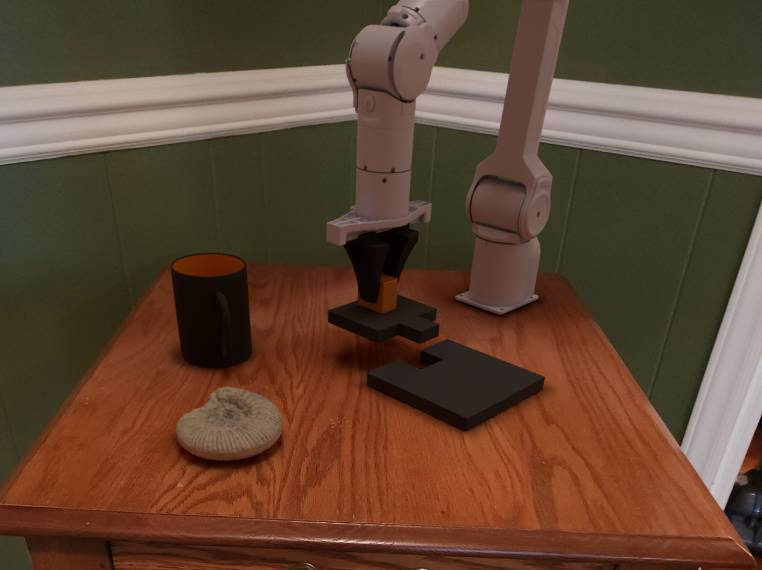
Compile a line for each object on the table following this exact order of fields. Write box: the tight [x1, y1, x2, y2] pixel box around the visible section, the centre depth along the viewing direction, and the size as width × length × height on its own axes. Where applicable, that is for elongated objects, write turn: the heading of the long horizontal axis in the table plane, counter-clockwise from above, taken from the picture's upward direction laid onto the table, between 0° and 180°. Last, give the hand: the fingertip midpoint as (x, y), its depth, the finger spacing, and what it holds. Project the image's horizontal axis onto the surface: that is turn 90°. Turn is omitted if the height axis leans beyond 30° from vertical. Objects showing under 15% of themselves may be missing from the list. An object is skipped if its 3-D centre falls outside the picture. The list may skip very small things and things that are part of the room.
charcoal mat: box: [366, 338, 546, 432], centre depth 81 cm, size 14×14×2 cm
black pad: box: [327, 273, 441, 345], centre depth 82 cm, size 10×11×5 cm
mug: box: [169, 252, 253, 369], centre depth 82 cm, size 8×12×10 cm
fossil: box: [175, 386, 283, 462], centre depth 70 cm, size 11×4×10 cm
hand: (377, 297), depth 84 cm, fingers closed on black pad, 2 cm apart
